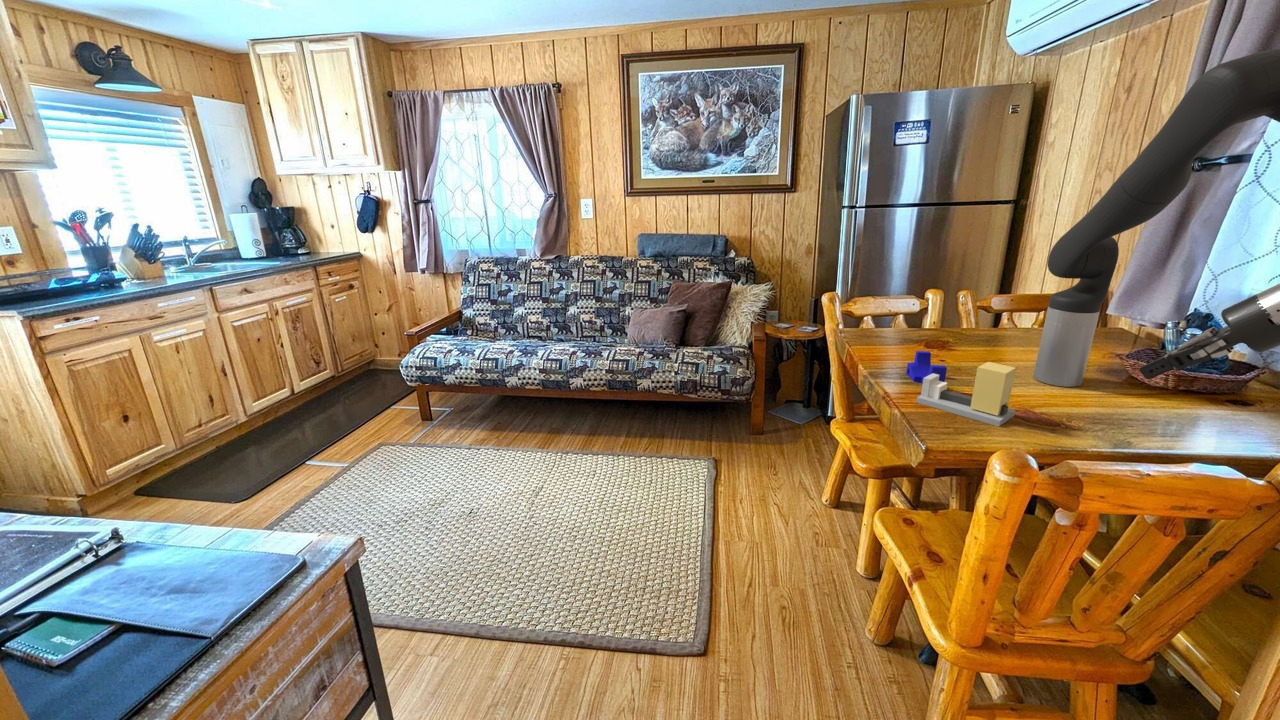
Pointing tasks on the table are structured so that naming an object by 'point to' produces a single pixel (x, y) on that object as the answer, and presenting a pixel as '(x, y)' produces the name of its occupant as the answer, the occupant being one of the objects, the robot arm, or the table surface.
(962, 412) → the comb board
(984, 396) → the pale yellow block
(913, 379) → the blue stepped block
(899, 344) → the table surface
